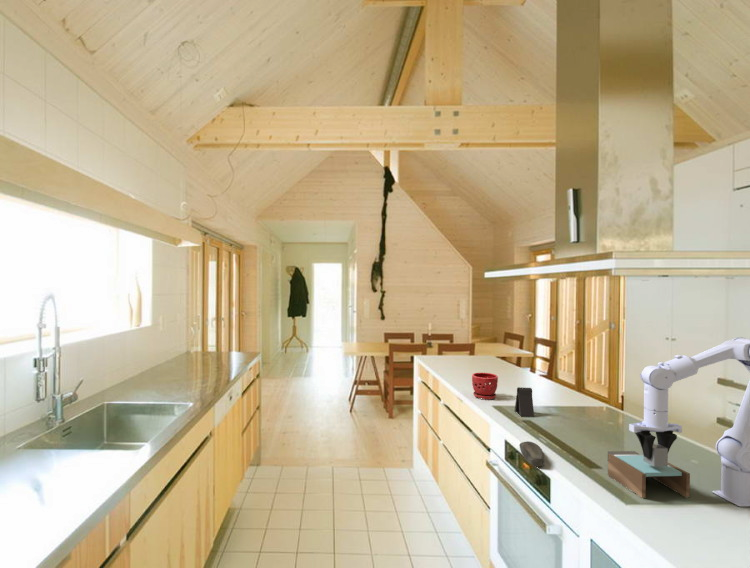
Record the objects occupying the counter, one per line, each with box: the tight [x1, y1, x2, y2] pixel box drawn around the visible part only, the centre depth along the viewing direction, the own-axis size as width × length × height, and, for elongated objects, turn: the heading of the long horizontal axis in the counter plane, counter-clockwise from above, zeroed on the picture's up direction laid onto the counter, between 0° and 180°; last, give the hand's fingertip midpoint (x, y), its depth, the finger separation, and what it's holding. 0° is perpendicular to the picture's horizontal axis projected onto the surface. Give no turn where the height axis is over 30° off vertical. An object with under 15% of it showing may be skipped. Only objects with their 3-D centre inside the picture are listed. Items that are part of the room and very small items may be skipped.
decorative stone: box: [519, 440, 545, 468], centre depth 137 cm, size 17×6×4 cm, turn 170°
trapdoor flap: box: [607, 450, 682, 476], centre depth 121 cm, size 11×17×4 cm, turn 5°
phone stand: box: [514, 386, 535, 418], centre depth 188 cm, size 9×6×12 cm, turn 179°
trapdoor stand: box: [607, 453, 691, 499], centre depth 119 cm, size 14×14×6 cm
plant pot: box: [471, 372, 499, 400], centre depth 216 cm, size 13×13×12 cm
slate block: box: [643, 442, 669, 467], centre depth 116 cm, size 4×4×5 cm
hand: (655, 457), depth 116 cm, fingers closed on slate block, 4 cm apart
